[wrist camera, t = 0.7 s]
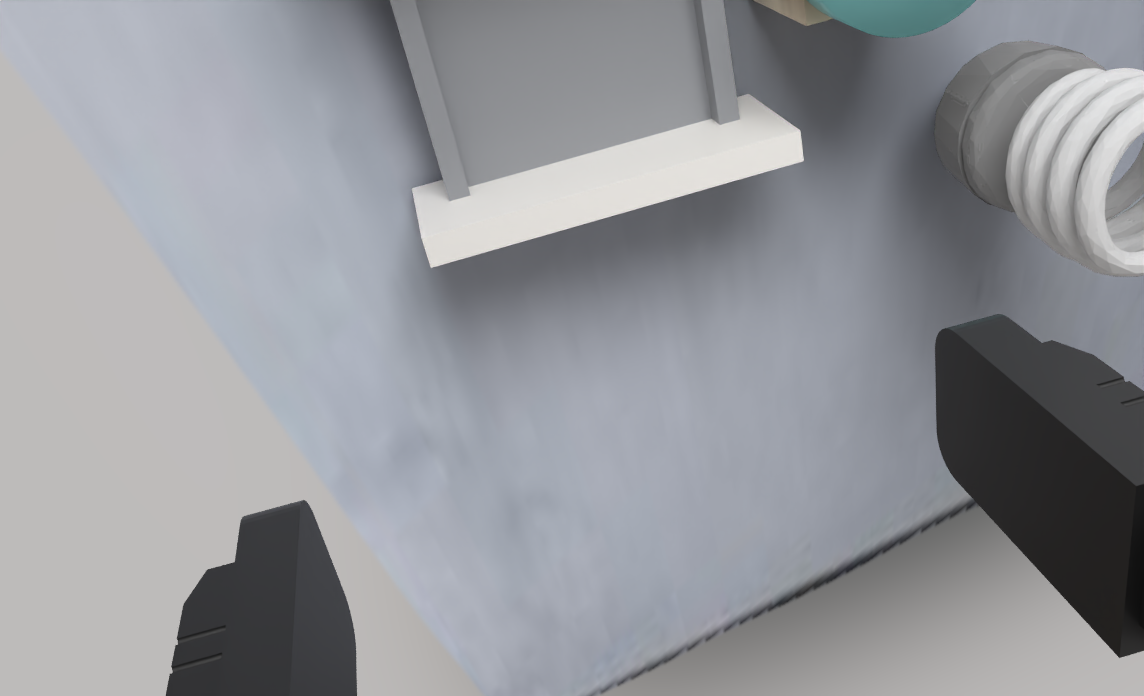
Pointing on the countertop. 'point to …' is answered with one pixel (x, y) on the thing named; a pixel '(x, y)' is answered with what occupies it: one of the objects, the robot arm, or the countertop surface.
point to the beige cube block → (796, 10)
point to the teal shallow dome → (893, 14)
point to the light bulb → (1051, 148)
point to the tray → (575, 114)
